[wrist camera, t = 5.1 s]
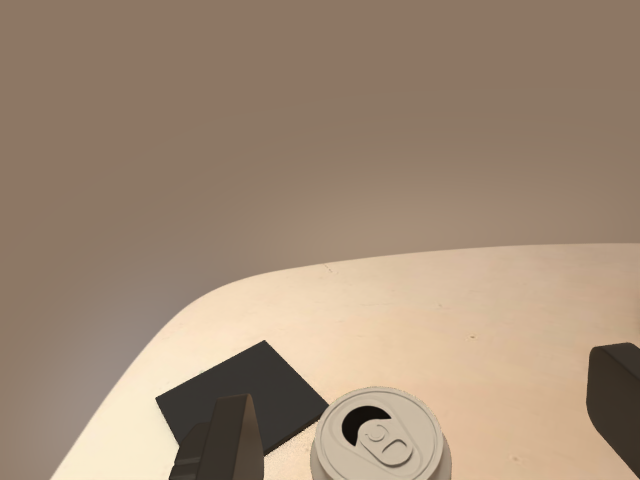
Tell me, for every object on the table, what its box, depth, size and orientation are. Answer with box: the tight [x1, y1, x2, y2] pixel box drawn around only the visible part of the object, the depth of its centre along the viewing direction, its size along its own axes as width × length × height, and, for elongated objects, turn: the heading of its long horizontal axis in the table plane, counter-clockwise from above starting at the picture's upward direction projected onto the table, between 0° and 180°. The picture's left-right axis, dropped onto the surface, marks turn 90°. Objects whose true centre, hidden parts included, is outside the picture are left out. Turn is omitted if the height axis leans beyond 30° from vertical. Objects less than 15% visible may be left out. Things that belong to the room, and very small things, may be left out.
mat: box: [155, 340, 330, 456], centre depth 38 cm, size 11×11×1 cm
